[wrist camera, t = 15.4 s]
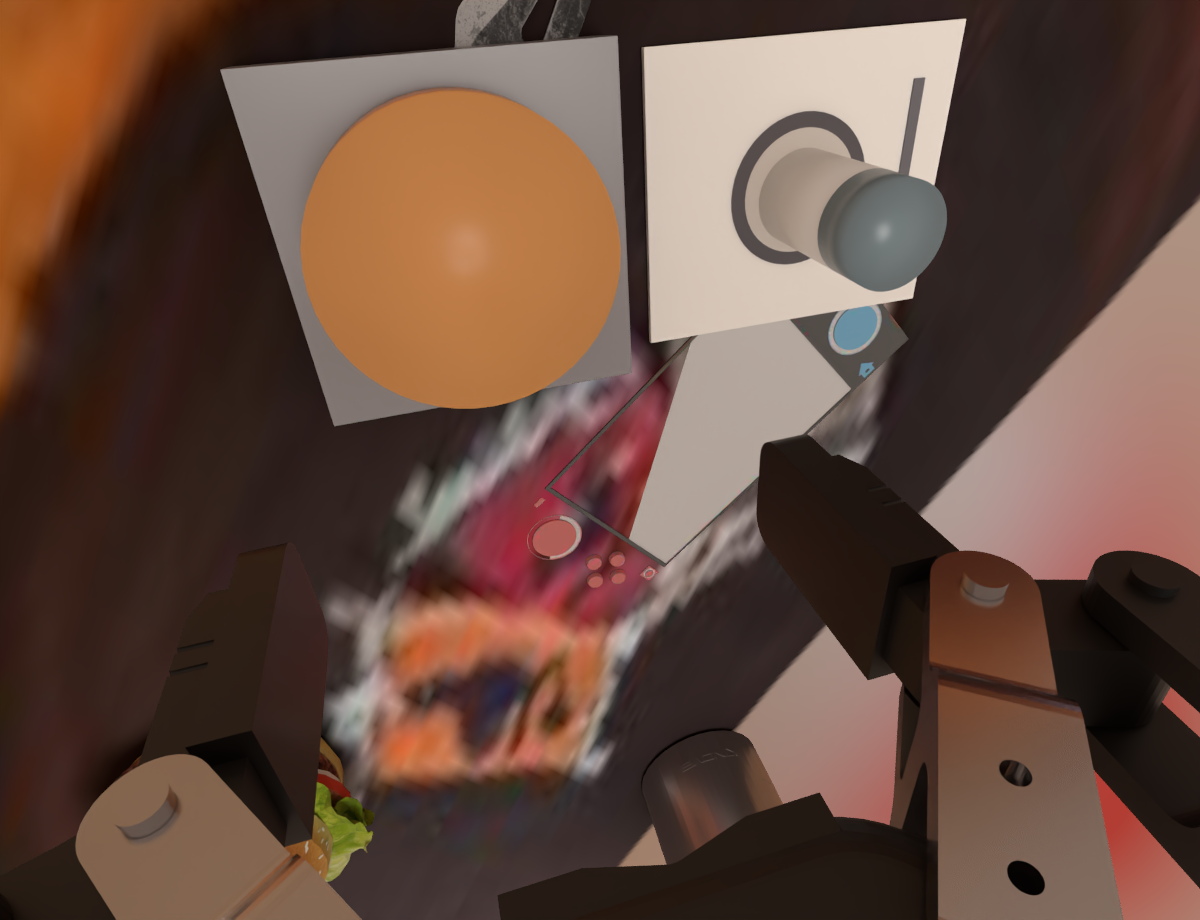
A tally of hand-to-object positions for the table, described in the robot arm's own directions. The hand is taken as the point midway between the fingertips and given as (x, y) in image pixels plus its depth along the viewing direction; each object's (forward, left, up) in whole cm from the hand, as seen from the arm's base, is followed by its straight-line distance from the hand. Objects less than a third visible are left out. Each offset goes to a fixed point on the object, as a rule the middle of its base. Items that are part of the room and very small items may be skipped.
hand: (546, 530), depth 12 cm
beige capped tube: (0, -15, -19) cm, 25 cm away
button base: (0, 0, -20) cm, 20 cm away
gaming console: (-12, -11, -20) cm, 26 cm away
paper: (0, -15, -20) cm, 25 cm away
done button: (0, 0, -17) cm, 17 cm away
